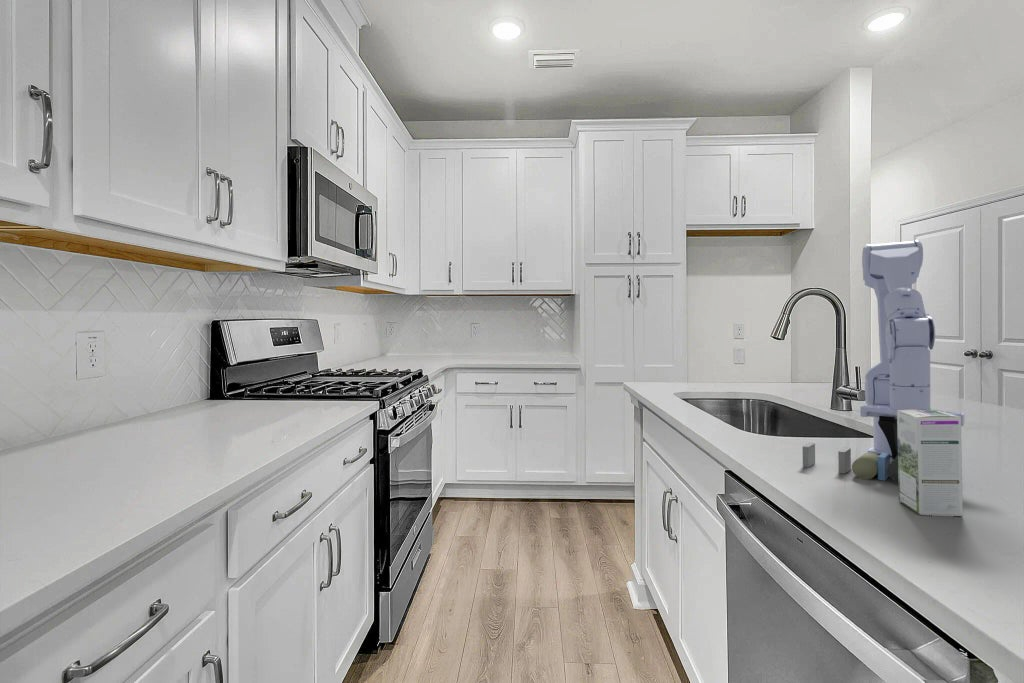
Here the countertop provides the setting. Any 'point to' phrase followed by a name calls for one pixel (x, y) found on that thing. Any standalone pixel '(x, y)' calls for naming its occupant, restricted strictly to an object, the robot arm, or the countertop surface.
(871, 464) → the olive yellow cylinder
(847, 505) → the countertop surface
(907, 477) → the syrup box
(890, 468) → the dark grey cylinder
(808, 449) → the rectangular blocks
